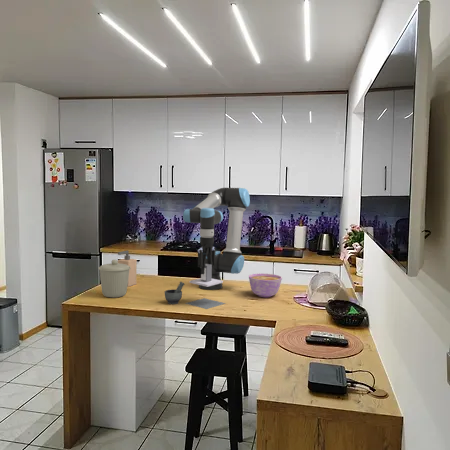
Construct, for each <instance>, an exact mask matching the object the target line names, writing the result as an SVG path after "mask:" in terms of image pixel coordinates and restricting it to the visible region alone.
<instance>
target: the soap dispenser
mask: <svg viewBox="0 0 450 450" xmlns="http://www.w3.org/2000/svg"><path fill="white" fill-rule="evenodd" d="M117 255H119V256H121V255H124V258H121V259H117V261H118V263H120V264H126V265H128V266H130V267H131V268H130V269H129V278H128V286H127V288H128V287H132V286H135V285H137V263H138V262H137V260H138V259H136V258H131V255H129V250H124V251H118V253H117Z"/></svg>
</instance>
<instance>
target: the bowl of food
mask: <svg viewBox="0 0 450 450" xmlns="http://www.w3.org/2000/svg"><path fill="white" fill-rule="evenodd" d="M248 279H249V280H248V281H249V285H250V289H251V292H252V293H253V294H255V295H257V296H258V297H260V298H271V297H272V296H275V295H276V294H277V293H278V292H279V290H280V287H281V284H282V280H283V277H282V276H280V275H277V274H275V273H274V274H273V273H252V274H249V275H248Z"/></svg>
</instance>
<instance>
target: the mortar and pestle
mask: <svg viewBox="0 0 450 450" xmlns="http://www.w3.org/2000/svg"><path fill="white" fill-rule="evenodd" d="M184 286H185V283H184V282H183V281H179V284H178V286H177V287H176V289H167V290H165V291H164V298H165V300H166V301H167V304H169V305H177V304H179V302H180V301H181V299H182V298H183V287H184Z"/></svg>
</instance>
